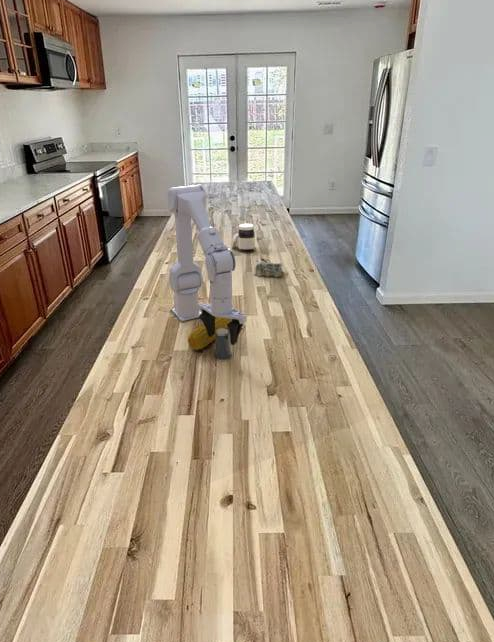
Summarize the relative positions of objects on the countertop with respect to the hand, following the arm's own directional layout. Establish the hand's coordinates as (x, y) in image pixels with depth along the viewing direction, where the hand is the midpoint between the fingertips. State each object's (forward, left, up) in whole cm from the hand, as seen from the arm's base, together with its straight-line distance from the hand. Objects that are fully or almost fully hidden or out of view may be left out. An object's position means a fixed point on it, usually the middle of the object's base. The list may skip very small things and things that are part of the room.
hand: (222, 339), depth 121 cm
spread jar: (-78, +48, -5) cm, 91 cm away
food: (-10, +2, -5) cm, 12 cm away
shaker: (0, 0, -5) cm, 5 cm away
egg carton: (-46, +43, -5) cm, 63 cm away
